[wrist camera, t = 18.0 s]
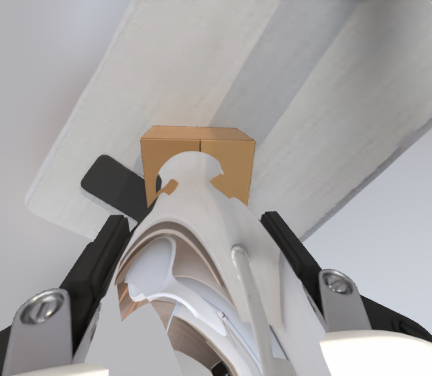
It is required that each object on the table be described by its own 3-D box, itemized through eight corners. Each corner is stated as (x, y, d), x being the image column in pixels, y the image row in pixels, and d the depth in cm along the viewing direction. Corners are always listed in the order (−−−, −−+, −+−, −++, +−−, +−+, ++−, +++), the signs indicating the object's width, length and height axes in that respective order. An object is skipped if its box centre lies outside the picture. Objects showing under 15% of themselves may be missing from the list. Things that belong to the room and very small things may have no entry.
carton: (236, 128, 32) (256, 141, 23) (230, 203, 38) (243, 238, 29) (153, 125, 31) (139, 138, 21) (160, 205, 36) (151, 243, 27)
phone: (102, 152, 31) (179, 205, 36) (104, 150, 32) (179, 203, 37) (77, 185, 32) (154, 231, 38) (79, 183, 33) (155, 229, 39)
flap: (254, 140, 23) (255, 141, 23) (242, 236, 29) (243, 238, 29) (200, 139, 23) (200, 140, 22) (199, 238, 28) (199, 240, 28)
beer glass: (157, 224, 18) (70, 621, 4) (143, 147, 15) (-253, 625, 1) (233, 216, 19) (359, 532, 5) (234, 142, 16) (529, 417, 2)
